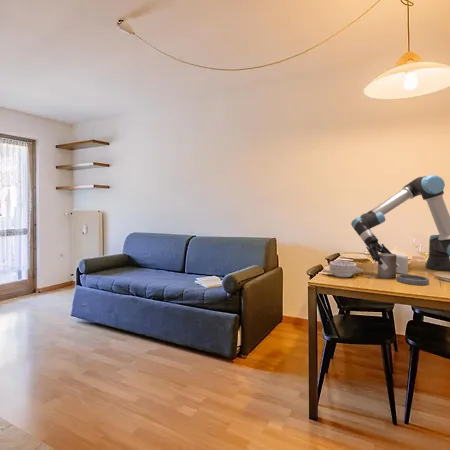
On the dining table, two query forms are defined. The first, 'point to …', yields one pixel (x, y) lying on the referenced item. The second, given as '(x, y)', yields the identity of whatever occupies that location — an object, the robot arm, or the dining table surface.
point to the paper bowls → (342, 268)
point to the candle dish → (413, 279)
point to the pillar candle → (391, 264)
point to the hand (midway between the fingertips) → (391, 268)
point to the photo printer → (402, 263)
